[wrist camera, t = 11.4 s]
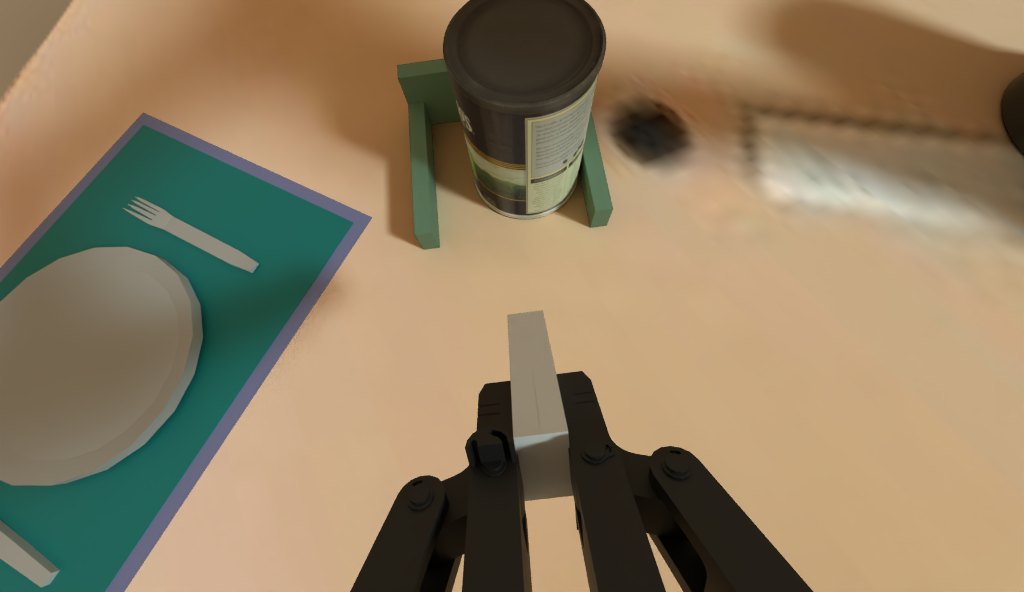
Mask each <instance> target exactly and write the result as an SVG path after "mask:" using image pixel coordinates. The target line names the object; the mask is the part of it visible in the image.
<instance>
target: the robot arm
mask: <svg viewBox="0 0 1024 592" xmlns="http://www.w3.org/2000/svg"><path fill="white" fill-rule="evenodd" d="M1002 115H1003V120H1004V123H1005V126H1006V128H1007V130H1008V133H1009V134H1010V136H1011V138H1012V139H1013V141H1014V142H1015V144H1016V145H1017V146H1018V148H1019V149H1020V150H1021V151H1022V152H1023V153H1024V73H1022V74H1021V75H1020V76H1018V77H1017V78H1016V79H1015V80H1013V81H1012V83H1011V84H1010V85H1009V86H1008V88H1007V90H1006V91H1005V94H1004V97H1003V101H1002ZM507 317H508V337H509V358H510V379H511V381H505V382H496V383H488V384H485V385H484V387H483V388H482V390H481V392H480V393H479V401H478V418H477V431H476V432H475V433H473V434H472V435H471V436H470V438H469V439H468V440H467V443H466V446H465V450H466V453H467V457H468V461H469V466H468V467H467V468H466V469H465V470H464V471H462V472H461V473H459V474H457V475H455V476H453V477H451V478H448V479H446V480H444V481H440V480H439V479H438V478H436V477H433V476H430V475H428V476H420V477H417V478H415V479H413V480H411V481H410V482H408V483H407V484H406V485H405V486H404V487H403V488H402V489H401V491H400V492H399V494H398V495H397V497H396V499H395V501H394V504H393V506H392V508H391V510H390V512H389V514H388V516H387V518H386V520H385V522H384V524H383V526H382V528H381V530H380V532H379V534H378V536H377V538H376V540H375V542H374V544H373V546H372V548H371V550H370V552H369V555H368V557H367V559H366V561H365V563H364V565H363V567H362V569H361V571H360V573H359V575H358V577H357V579H356V581H355V583H354V585H353V587H352V589H351V591H350V592H452V589H453V585H454V582H455V578H456V575H457V572H458V568H459V565H460V561H461V558H462V555H463V554H465V555H464V570H463V585H462V592H532V583H531V569H530V556H529V542H528V528H527V518H526V512H525V502H524V501H529V500H538V499H546V498H555V497H564V496H573V495H574V501H575V511H576V523H577V530H579V534H580V540H581V545H582V550H583V556H584V561H585V567H586V572H587V577H588V583H589V588H590V592H666V591H665V588H664V585H663V582H662V579H661V576H660V573H659V570H658V567H657V564H656V561H655V558H654V555H653V552H652V549H651V546H650V543H649V540H648V537H647V534H646V533H649V535H650V537H651V538H652V540H653V542H654V543H655V545H656V547H657V548H658V550H659V552H660V553H661V555H662V557H663V558H664V560H665V562H666V563H667V565H668V567H669V568H670V570H671V572H672V573H673V575H674V577H675V578H676V580H677V582H678V583H679V585H680V587H681V588H682V590H683V592H813V591H812V590H811V588H810V587H809V586H808V585H807V584H806V583H805V582H804V580H803V579H802V578H801V577H800V576H799V575H798V573H797V572H796V571H795V570H794V569H793V568H792V567H791V565H790V564H789V563H788V562H787V561H786V560H785V559H784V557H783V556H782V555H781V554H780V553H779V552H778V550H777V549H776V548H775V547H774V546H773V545H772V544H771V542H770V541H769V540H768V539H767V538H766V537H765V535H764V534H763V533H762V532H761V531H760V530H759V529H758V527H757V526H756V525H755V524H754V523H753V522H752V521H751V519H750V518H749V517H748V516H747V515H746V514H745V512H744V511H743V510H742V509H741V508H740V507H739V506H738V504H737V503H736V502H735V501H734V500H733V499H732V498H731V496H730V495H729V494H728V493H727V492H726V491H725V489H724V488H723V487H722V486H721V485H720V484H719V483H718V481H717V480H716V479H715V478H714V477H713V476H712V474H711V473H710V472H709V471H708V470H707V469H706V468H705V466H704V465H703V464H702V463H701V462H700V461H699V460H698V459H697V458H696V457H695V456H694V455H693V454H692V453H690V452H689V451H686V450H684V449H682V448H679V447H672V446H668V447H661V448H659V449H658V450H656V451H654V452H653V454H652V456H646V455H640V454H634V453H631V452H627V451H625V450H623V449H621V448H620V447H619V446H617V445H616V444H615V443H614V442H613V441H612V440H611V438H610V436H609V434H608V431H607V427H606V424H605V421H604V418H603V415H602V412H601V409H600V406H599V403H598V401H597V397H596V394H595V391H594V388H593V385H592V382H591V380H590V379H589V378H588V377H587V376H586V375H585V374H584V373H583V372H582V371H579V372H571V373H563V374H556V371H555V366H554V362H553V357H552V352H551V347H550V343H549V338H548V333H547V328H546V324H545V319H544V314H543V311H535V312H527V313H519V314H511V315H507Z"/></svg>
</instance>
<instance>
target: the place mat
mask: <svg viewBox="0 0 1024 592" xmlns="http://www.w3.org/2000/svg"><path fill="white" fill-rule="evenodd" d="M371 219H372V217H370V216H368V215H365V214H363V213H361V212H359V211H357V210H354V209H352V208H350V207H348V206H346V205H344V204H341V203H339V202H337V201H335V200H333V199H330V198H328V197H326V196H324V195H322V194H320V193H317V192H315V191H313V190H311V189H309V188H306V187H304V186H302V185H300V184H298V183H295V182H293V181H291V180H289V179H287V178H285V177H282V176H280V175H278V174H276V173H274V172H271V171H269V170H267V169H265V168H263V167H261V166H258V165H256V164H254V163H252V162H250V161H247V160H245V159H243V158H241V157H239V156H237V155H234V154H232V153H230V152H228V151H226V150H223V149H221V148H219V147H217V146H215V145H212V144H210V143H208V142H206V141H204V140H202V139H199V138H197V137H195V136H193V135H191V134H188V133H186V132H184V131H182V130H180V129H178V128H175V127H173V126H171V125H169V124H167V123H164V122H162V121H160V120H158V119H156V118H153V117H151V116H149V115H147V114H145V113H143V114H142V115H141V116H140V117H139V118H138V119H137V120H136V121H135V122H134V123H133V124H132V125H131V127H130V128H129V129H128V130H127V131H126V132H125V133H124V134H123V135H122V136H121V137H120V139H119V140H118V141H117V142H116V143H115V144H114V145H113V146H112V147H111V148H110V149H109V151H108V152H107V153H106V154H105V155H104V156H103V157H102V158H101V159H100V160H99V161H98V163H97V164H96V165H95V166H94V167H93V168H92V169H91V170H90V171H89V172H88V173H87V175H86V176H85V177H84V178H83V179H82V180H81V181H80V182H79V183H78V184H77V185H76V186H75V188H74V189H73V190H72V191H71V192H70V193H69V194H68V195H67V196H66V197H65V198H64V200H63V201H62V202H61V203H60V204H59V205H58V206H57V207H56V208H55V209H54V210H53V212H52V213H51V214H50V215H49V216H48V217H47V218H46V219H45V220H44V221H43V222H42V224H41V225H40V226H39V227H38V228H37V229H36V230H35V231H34V232H33V233H32V234H31V236H30V237H29V238H28V239H27V240H26V241H25V242H24V243H23V244H22V245H21V246H20V248H19V249H18V250H17V251H16V252H15V253H14V254H13V255H12V256H11V257H10V258H9V259H8V261H7V262H6V263H5V264H4V265H3V266H2V267H1V268H0V592H124V591H125V590H126V588H127V587H128V585H129V584H130V582H131V581H132V579H133V578H134V576H135V575H136V573H137V572H138V570H139V569H140V567H141V566H142V564H143V563H144V561H145V560H146V558H147V557H148V555H149V554H150V552H151V551H152V549H153V548H154V546H155V544H156V543H157V541H158V540H159V538H160V537H161V535H162V534H163V532H164V531H165V529H166V528H167V526H168V525H169V523H170V522H171V520H172V519H173V517H174V516H175V514H176V513H177V511H178V510H179V508H180V507H181V505H182V504H183V502H184V501H185V499H186V498H187V496H188V495H189V493H190V492H191V490H192V489H193V487H194V486H195V484H196V483H197V481H198V480H199V478H200V477H201V475H202V474H203V472H204V471H205V469H206V468H207V466H208V465H209V463H210V462H211V460H212V459H213V457H214V456H215V454H216V452H217V451H218V449H219V448H220V446H221V445H222V443H223V442H224V440H225V439H226V437H227V436H228V434H229V433H230V431H231V430H232V428H233V427H234V425H235V424H236V422H237V421H238V419H239V418H240V416H241V415H242V413H243V412H244V410H245V409H246V407H247V406H248V404H249V403H250V401H251V400H252V398H253V397H254V395H255V394H256V392H257V391H258V389H259V388H260V386H261V385H262V383H263V382H264V380H265V379H266V377H267V376H268V374H269V373H270V371H271V370H272V368H273V367H274V365H275V363H276V362H277V360H278V359H279V357H280V356H281V354H282V353H283V351H284V350H285V348H286V347H287V345H288V344H289V342H290V341H291V339H292V338H293V336H294V335H295V333H296V332H297V330H298V329H299V327H300V326H301V324H302V323H303V321H304V320H305V318H306V317H307V315H308V314H309V312H310V311H311V309H312V308H313V306H314V305H315V303H316V302H317V300H318V299H319V297H320V296H321V294H322V293H323V291H324V290H325V288H326V287H327V285H328V284H329V282H330V281H331V279H332V278H333V276H334V274H335V273H336V271H337V270H338V268H339V267H340V265H341V264H342V262H343V261H344V259H345V258H346V256H347V255H348V253H349V252H350V250H351V249H352V247H353V246H354V244H355V243H356V241H357V240H358V238H359V237H360V235H361V234H362V232H363V231H364V229H365V228H366V226H367V225H368V223H369V222H370V220H371Z"/></svg>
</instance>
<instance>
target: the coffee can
mask: <svg viewBox="0 0 1024 592" xmlns="http://www.w3.org/2000/svg"><path fill="white" fill-rule="evenodd" d="M605 50H606V34H605V30H604V26H603V24H602V22H601V19H600V18H599V16H598V15H597V13H596V12H595V10H594V9H593V8H592V7H591V6H590V5H589V4H588V3H587V2H586V1H584V0H470V1H468V2H467V3H466V4H465V5H464V6H463V7H462V8H461V9H460V10H459V11H458V12H457V13H456V14H455V15H454V17H453V18H452V19H451V21H450V23H449V25H448V27H447V29H446V32H445V36H444V42H443V54H444V60H445V64H446V68H447V70H448V73H449V76H450V78H451V82H452V85H453V90H454V94H455V98H456V102H457V107H458V111H459V115H460V120H461V124H462V128H463V132H464V136H465V141H466V145H467V149H468V153H469V157H470V162H471V166H472V170H473V175H474V183H475V186H476V189H477V191H478V193H479V195H480V197H481V198H482V200H483V201H484V202H485V203H486V204H487V205H488V206H489V207H490V208H491V209H493V210H495V211H496V212H498V213H500V214H502V215H505V216H508V217H511V218H516V219H535V218H539V217H543V216H546V215H548V214H550V213H552V212H554V211H556V210H557V209H559V208H560V207H562V206H563V205H564V204H565V203H566V202H567V201H568V200H569V198H570V197H571V195H572V194H573V192H574V190H575V188H576V186H577V182H578V173H579V167H580V162H581V157H582V152H583V147H584V142H585V138H586V132H587V127H588V122H589V117H590V112H591V107H592V103H593V98H594V93H595V88H596V83H597V79H598V73H599V71H600V69H601V66H602V63H603V59H604V55H605Z"/></svg>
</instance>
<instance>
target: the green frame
mask: <svg viewBox="0 0 1024 592" xmlns="http://www.w3.org/2000/svg"><path fill="white" fill-rule="evenodd" d="M397 68H398V80H399V82H400V85H401V87H402V90H403V92H404V95H405V97H406V100H407V102H408V110H409V131H410V152H411V173H412V194H413V215H414V235H415V237H416V238H417V240H418V241H419V243H420V244H421V246H422V247H423V249H432V248H439V247H440V242H439V227H438V213H437V198H436V184H435V169H434V155H433V140H432V126H431V125H432V124H439V123H447V122H454V121H461V120H460V115H459V111H458V107H457V102H456V98H455V94H454V90H453V85H452V82H451V78H450V76H449V73H448V70H447V68H446V64H445V60H444V59H439V60H431V61H424V62H417V63H410V64H402V65H397ZM579 174H580V179H581V184H582V189H583V194H584V199H585V204H586V209H587V214H588V218H589V223H590V228H591V227H599V226H606V225H607V223H608V220H609V218H610V215H611V213H612V210H613V207H612V202H611V198H610V193H609V189H608V184H607V180H606V175H605V171H604V167H603V162H602V158H601V153H600V149H599V144H598V140H597V136H596V131H595V127H594V122H593V118H592V113H591V112H590V117H589V122H588V127H587V132H586V138H585V142H584V147H583V152H582V157H581V162H580V167H579Z"/></svg>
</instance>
